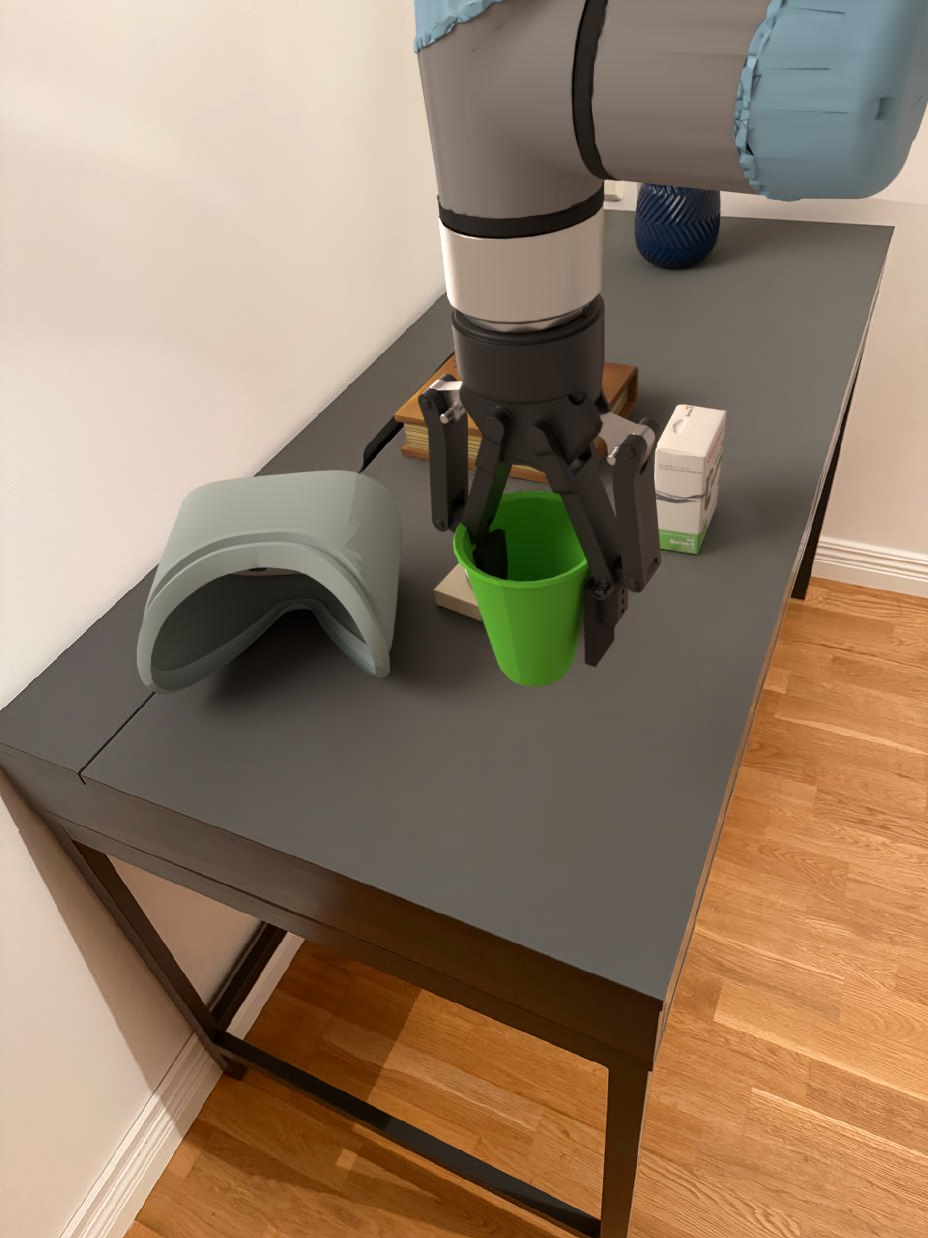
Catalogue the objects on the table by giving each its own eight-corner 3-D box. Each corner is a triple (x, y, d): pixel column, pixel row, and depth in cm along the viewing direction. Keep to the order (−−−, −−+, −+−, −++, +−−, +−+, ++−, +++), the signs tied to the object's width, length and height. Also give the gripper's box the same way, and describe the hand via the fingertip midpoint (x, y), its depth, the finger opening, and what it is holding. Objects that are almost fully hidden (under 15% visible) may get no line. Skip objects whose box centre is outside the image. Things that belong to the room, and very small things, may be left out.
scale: (616, 565, 89) (616, 547, 87) (551, 648, 82) (550, 631, 80) (505, 530, 95) (503, 513, 93) (436, 604, 88) (433, 587, 86)
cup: (619, 630, 62) (623, 503, 55) (576, 726, 57) (573, 599, 49) (501, 602, 65) (488, 478, 58) (448, 690, 60) (427, 566, 52)
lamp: (584, 273, 139) (580, -11, 114) (648, 226, 150) (657, -44, 124) (705, 296, 129) (730, -10, 104) (764, 244, 140) (800, -46, 114)
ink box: (698, 556, 89) (707, 456, 80) (649, 547, 90) (653, 448, 82) (717, 506, 94) (728, 407, 86) (671, 498, 96) (677, 401, 88)
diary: (637, 405, 110) (638, 362, 106) (580, 491, 98) (578, 446, 94) (472, 379, 119) (467, 338, 115) (401, 454, 108) (393, 412, 104)
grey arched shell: (411, 567, 92) (390, 462, 83) (402, 707, 78) (376, 600, 70) (203, 584, 94) (162, 484, 85) (159, 725, 80) (104, 623, 71)
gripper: (755, 294, 41) (713, 644, 57) (404, 243, 50) (452, 558, 66) (691, 371, 37) (665, 726, 52) (320, 300, 46) (393, 622, 61)
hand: (546, 632), depth 59 cm, fingers closed on cup, 7 cm apart
